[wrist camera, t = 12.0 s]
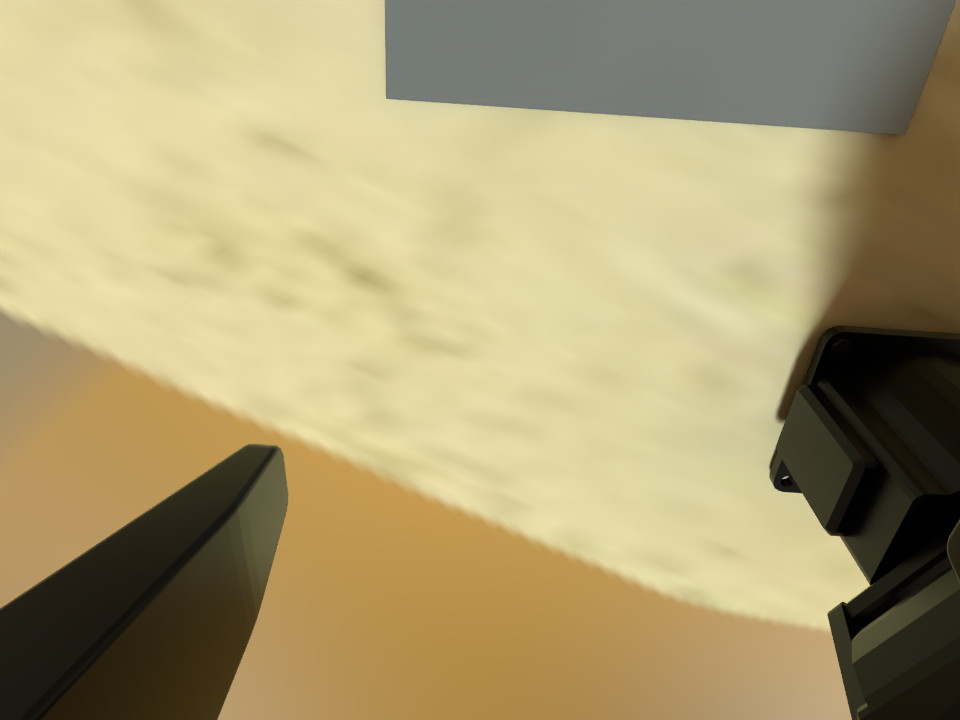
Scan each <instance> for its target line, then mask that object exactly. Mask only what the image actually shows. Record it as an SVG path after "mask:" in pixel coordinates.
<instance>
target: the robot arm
mask: <svg viewBox="0 0 960 720" xmlns="http://www.w3.org/2000/svg"><path fill="white" fill-rule="evenodd" d="M839 339H844V341H843V342H842V343H841V344H840V345H839V346H837V347H833V344H834V343H835V342H836V341H838V340H839ZM776 450H777V451H778V452H777V455H776V458H775V460H774V463H773V466H772V468H771V471H770V476H769V477H770V480H771V482H772V483H773V485H774V487H775V488H776V489H777V490H778V491H782V492H793V493H803V495H804V497H805V498H806V500H807V502H808V503H809V505H810V507H811V508H812V510H813V512H814V513H815V515H816V517H817V518H818V520H819V522H820V523H821V525H822V527H823V528H824V529H825V530H826V532H827V533H828V534H829V535H831V536H840V537H841V539H842V540H843V542H844V544H845V545H846V547H847V548H848V550H849V552H850V553H851V555H852V556H853V558H854V560H855V561H856V563H857V565H858V566H859V568H860V569H861V571H862V573H863V574H864V576H865V577H866V579H867V581H868V582H869V584H870V586H869V587H868V588H866V589H865V590H864V591H862V592H861V593H860V594H858V595H857V596H856V597H854V598H853V599H852V600H850V601H849V602H848V603H845V602H841V603H840V604H839V605H837V606H836V607H835V608H833V609H832V610H831V611H829V612H828V619H829V623H830V627H831V632H832V636H833V640H834V644H835V649H836V653H837V657H838V661H839V666H840V670H841V674H842V678H843V683H844V687H845V691H846V696H847V700H848V704H849V708H850V713H851V717H852V720H960V334H949V333H935V332H920V331H906V330H891V329H877V328H863V327H848V326H836V327H832V328H830V329H828V330H827V331H825V332H824V333H823V334H822V336H821V338H820V339H819V342H818V345H817V347H816V350H815V353H814V356H813V358H812V361H811V364H810V366H809V369H808V372H807V374H806V377H805V380H804V382H803V385H802V386H801V387H800V388H799V389H798V390H797V391H796V394H795V397H794V399H793V402H792V405H791V408H790V410H789V413H788V416H787V418H786V421H785V424H784V427H783V429H782V432H781V435H780V437H779V440H778V443H777V446H776ZM785 476H789V477H788V478H786V479H782V478H783V477H785ZM287 505H288V488H287V480H286V472H285V464H284V456H283V452H282V450H281V448H279V447H278V446H276V445H264V444H248V445H246V446H244V447H242V448H241V449H239V450H238V451H236V452H235V453H233V454H232V455H230V456H229V457H227V458H226V459H224V460H223V461H221V462H220V463H218V464H217V465H216V466H214V467H213V468H211V469H209V470H208V471H206V472H205V473H203V474H202V475H200V476H199V477H197V478H196V479H194V480H193V481H191V482H190V483H188V484H187V485H185V486H184V487H182V488H181V489H179V490H178V491H176V492H175V493H173V494H172V495H171V496H169V497H167V498H166V499H164V500H163V501H162V502H160V503H158V504H157V505H155V506H154V507H152V508H151V509H149V510H148V511H146V512H145V513H143V514H142V515H140V516H139V517H137V518H136V519H134V520H133V521H131V522H130V523H128V524H127V525H125V526H124V527H122V528H121V529H119V530H118V531H116V532H115V533H113V534H112V535H110V536H109V537H107V538H106V539H104V540H103V541H101V542H100V543H98V544H97V545H95V546H94V547H92V548H91V549H89V550H88V551H86V552H85V553H83V554H81V555H80V556H79V557H77V558H76V559H74V560H73V561H71V562H70V563H68V564H66V565H65V566H63V567H62V568H61V569H59V570H58V571H56V572H54V573H53V574H51V575H50V576H48V577H47V578H45V579H44V580H42V581H41V582H39V583H38V584H36V585H35V586H33V587H32V588H30V589H29V590H27V591H26V592H25V593H23V594H21V595H20V596H18V597H17V598H15V599H14V600H12V601H11V602H9V603H8V604H7V605H5V606H3V607H2V608H0V720H217V719H218V716H219V714H220V712H221V709H222V707H223V704H224V702H225V699H226V697H227V694H228V692H229V689H230V687H231V684H232V682H233V679H234V677H235V674H236V672H237V669H238V666H239V664H240V662H241V659H242V657H243V654H244V652H245V649H246V647H247V644H248V642H249V639H250V636H251V633H252V631H253V628H254V626H255V623H256V620H257V617H258V614H259V610H260V607H261V603H262V600H263V596H264V592H265V589H266V585H267V581H268V578H269V574H270V571H271V567H272V563H273V559H274V556H275V552H276V549H277V545H278V541H279V538H280V534H281V530H282V527H283V523H284V519H285V516H286V512H287Z"/></svg>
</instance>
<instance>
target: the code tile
mask: <svg viewBox="0 0 960 720" xmlns="http://www.w3.org/2000/svg"><path fill="white" fill-rule="evenodd" d="M955 2H956V0H385V46H386V99H397V100H411V101H426V102H440V103H454V104H469V105H483V106H497V107H512V108H526V109H540V110H555V111H569V112H583V113H598V114H612V115H626V116H641V117H655V118H669V119H684V120H698V121H712V122H727V123H741V124H755V125H770V126H784V127H799V128H813V129H827V130H842V131H856V132H870V133H885V134H899V135H905V134H906V131H907V129H908V126H909V123H910V121H911V118H912V115H913V113H914V110H915V108H916V105H917V102H918V100H919V97H920V94H921V92H922V89H923V86H924V84H925V81H926V79H927V76H928V73H929V71H930V68H931V65H932V63H933V60H934V58H935V55H936V52H937V50H938V47H939V44H940V42H941V39H942V36H943V34H944V31H945V29H946V26H947V23H948V21H949V18H950V15H951V13H952V10H953V7H954V5H955Z"/></svg>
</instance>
